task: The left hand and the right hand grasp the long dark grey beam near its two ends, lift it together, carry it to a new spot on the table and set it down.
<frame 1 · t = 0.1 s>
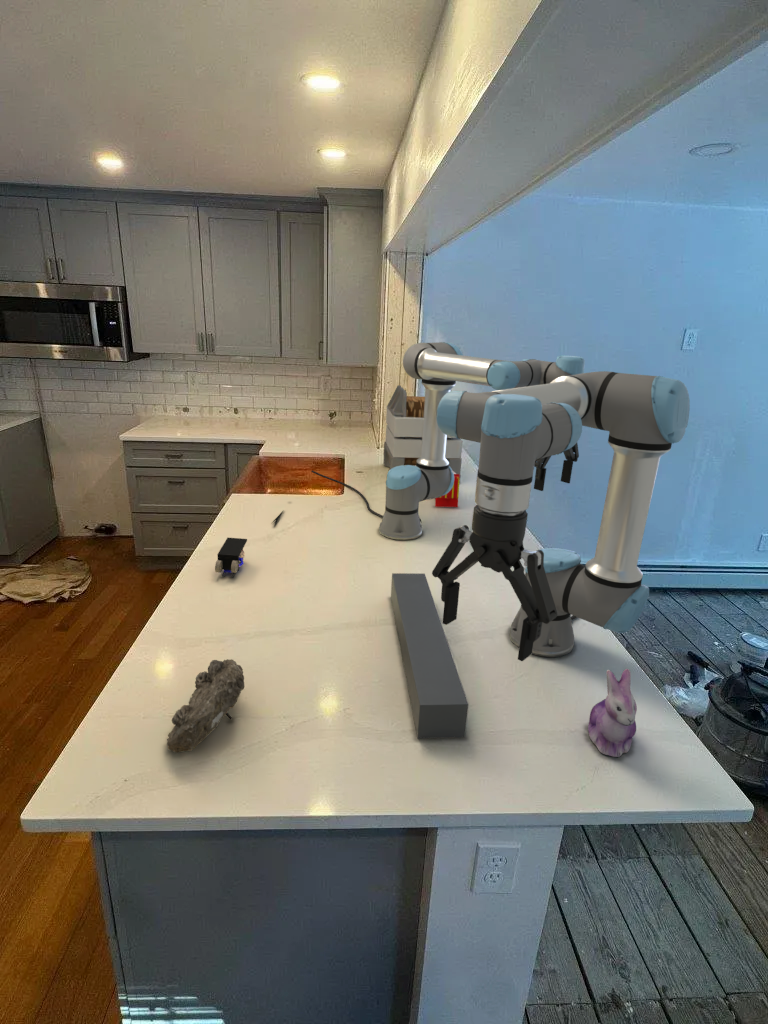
left hand: (552, 485, 166), 28 cm above the counter, tool pointing down, fingers open, 13 cm apart
right hand: (485, 638, 87), 28 cm above the counter, tool pointing down, fingers open, 13 cm apart
figurine: (611, 741, 107), on the counter
feather: (281, 514, 213), on the counter
toy: (441, 496, 242), on the counter
long dark grey beam: (420, 654, 131), on the counter
black wheeled cart: (232, 569, 168), on the counter
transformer: (419, 473, 275), on the counter
fossil: (212, 717, 108), on the counter
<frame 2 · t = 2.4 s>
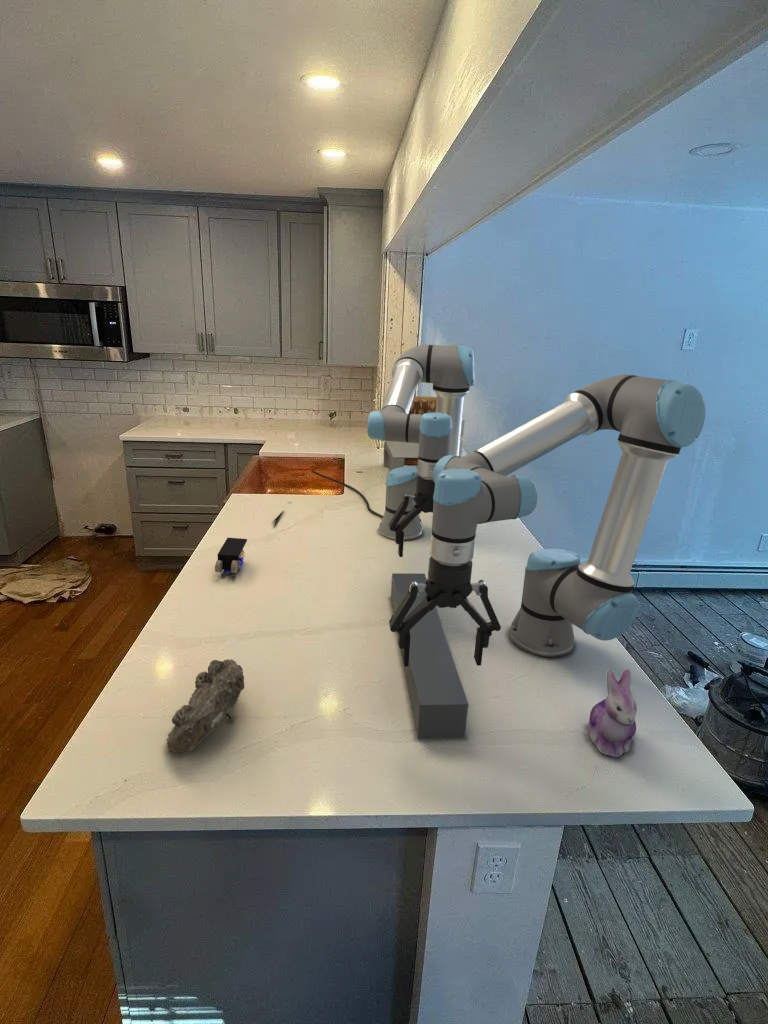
left hand: (426, 554, 148), 15 cm above the counter, tool pointing down, fingers open, 13 cm apart
right hand: (441, 661, 106), 13 cm above the counter, tool pointing down, fingers open, 13 cm apart
nothing on the counter moved.
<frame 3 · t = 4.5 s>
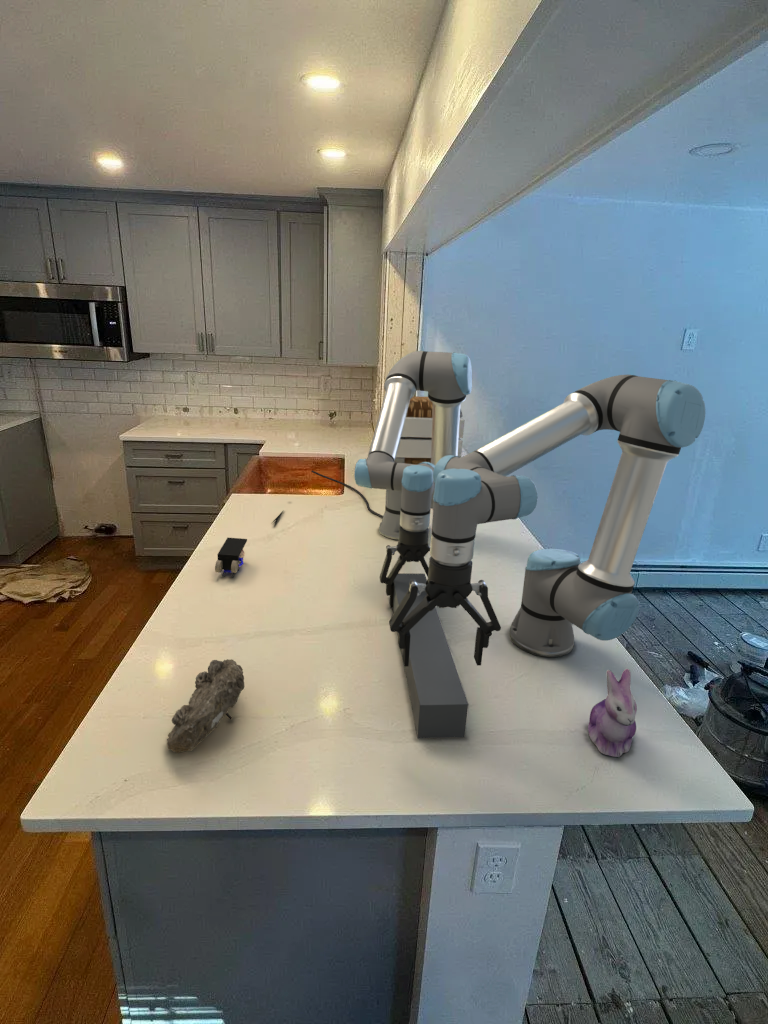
left hand: (409, 605, 151), 0 cm above the counter, tool pointing down, fingers closed on long dark grey beam, 9 cm apart
right hand: (441, 661, 106), 13 cm above the counter, tool pointing down, fingers open, 13 cm apart
long dark grey beam: (420, 654, 131), on the counter, touching left hand
everything else where it was.
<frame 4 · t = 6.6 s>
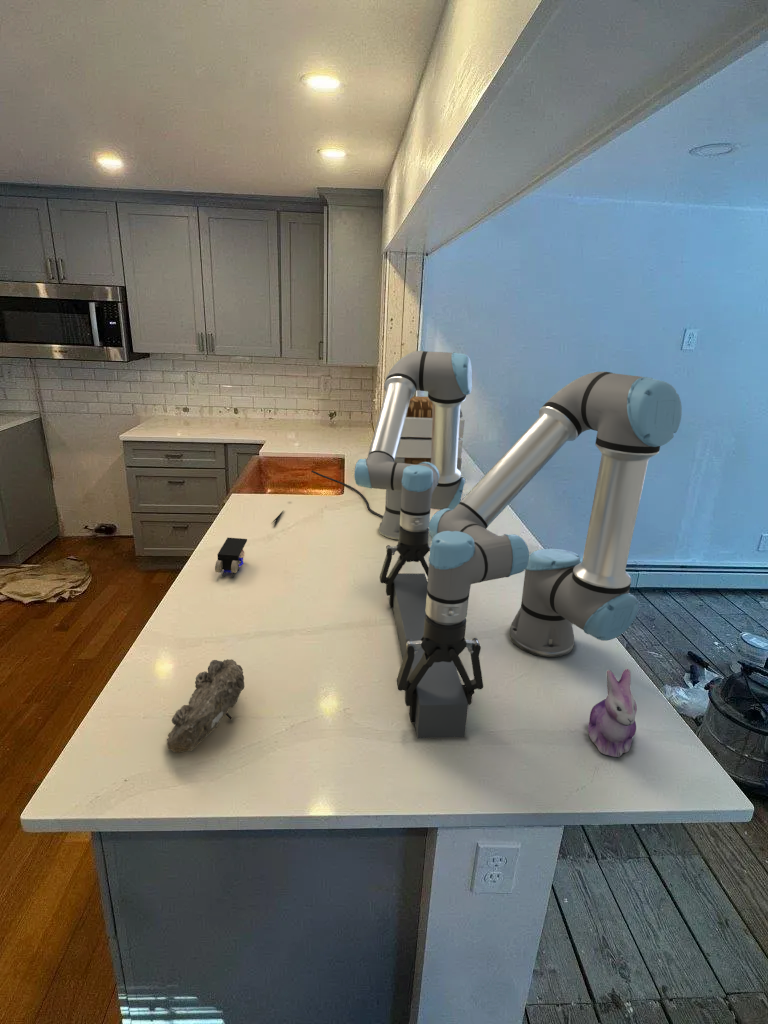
left hand: (409, 605, 151), 0 cm above the counter, tool pointing down, fingers closed on long dark grey beam, 9 cm apart
right hand: (436, 717, 110), 0 cm above the counter, tool pointing down, fingers closed on long dark grey beam, 9 cm apart
long dark grey beam: (420, 654, 131), on the counter, touching left hand, right hand
everything else where it was.
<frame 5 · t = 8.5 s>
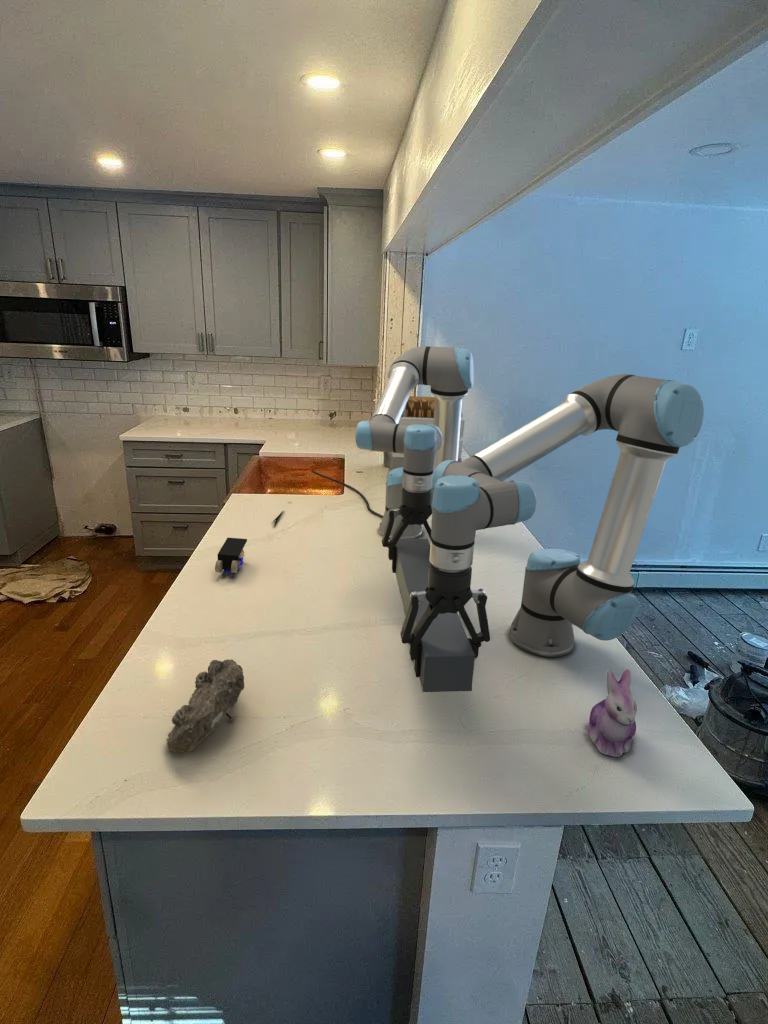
left hand: (412, 570, 148), 11 cm above the counter, tool pointing down, fingers closed on long dark grey beam, 9 cm apart
right hand: (442, 672, 107), 11 cm above the counter, tool pointing down, fingers closed on long dark grey beam, 9 cm apart
long dark grey beam: (424, 615, 127), point 10 cm above the counter, touching left hand, right hand
everything else where it was.
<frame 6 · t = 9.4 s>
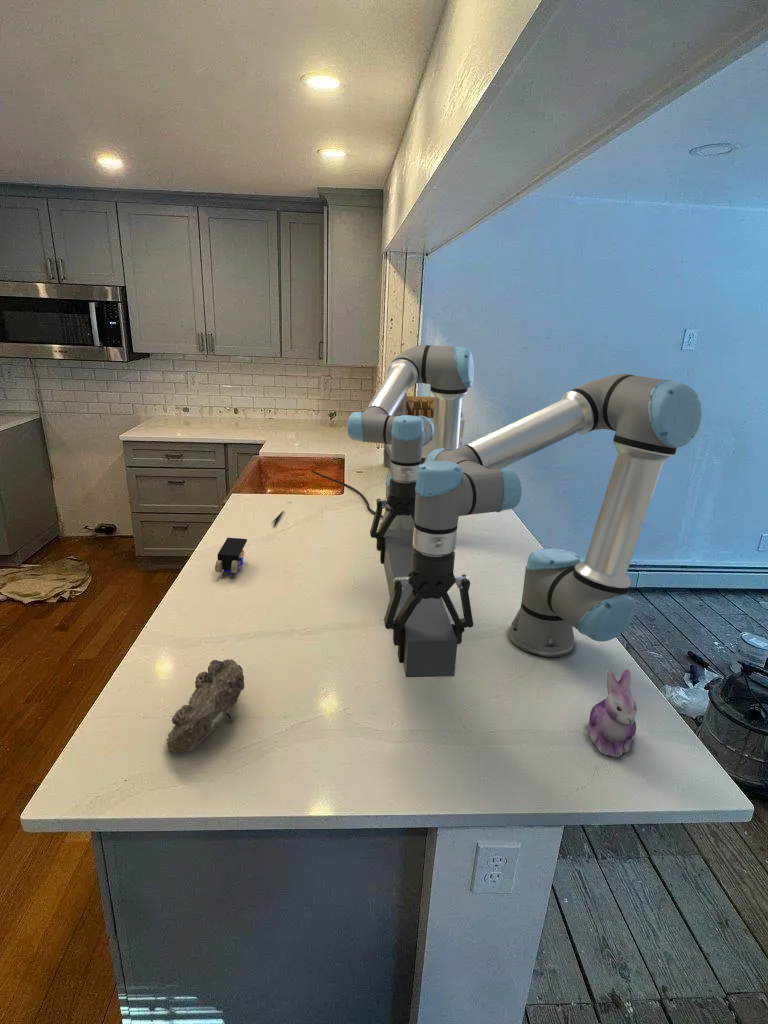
left hand: (400, 561, 148), 13 cm above the counter, tool pointing down, fingers closed on long dark grey beam, 9 cm apart
right hand: (425, 658, 107), 13 cm above the counter, tool pointing down, fingers closed on long dark grey beam, 9 cm apart
long dark grey beam: (411, 604, 128), point 12 cm above the counter, touching left hand, right hand
everything else where it was.
when the left hand's fingers open (2 cm above the counter, at t = 12.4 s): long dark grey beam drops 1 cm, on the counter.
when the right hand's fingers open (2 cm above the counter, at t = 12.4 s): long dark grey beam drops 1 cm, on the counter.
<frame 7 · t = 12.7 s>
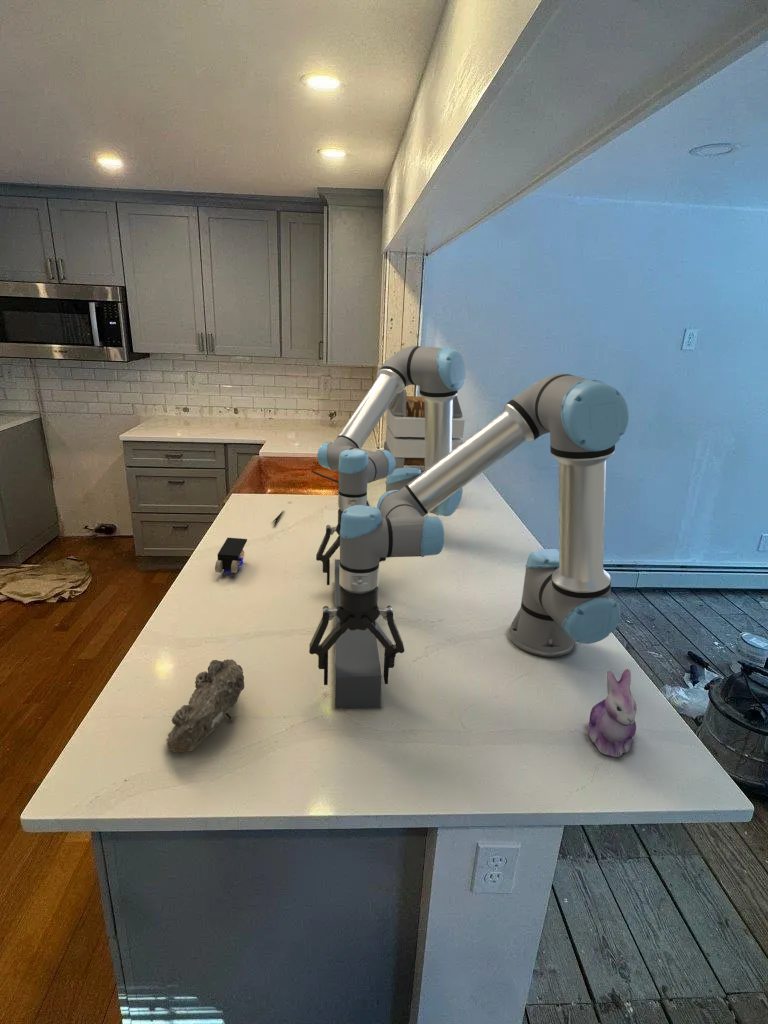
left hand: (350, 582, 157), 3 cm above the counter, tool pointing down, fingers open, 11 cm apart
right hand: (355, 680, 116), 3 cm above the counter, tool pointing down, fingers open, 11 cm apart
long dark grey beam: (353, 634, 137), on the counter
everything else where it was.
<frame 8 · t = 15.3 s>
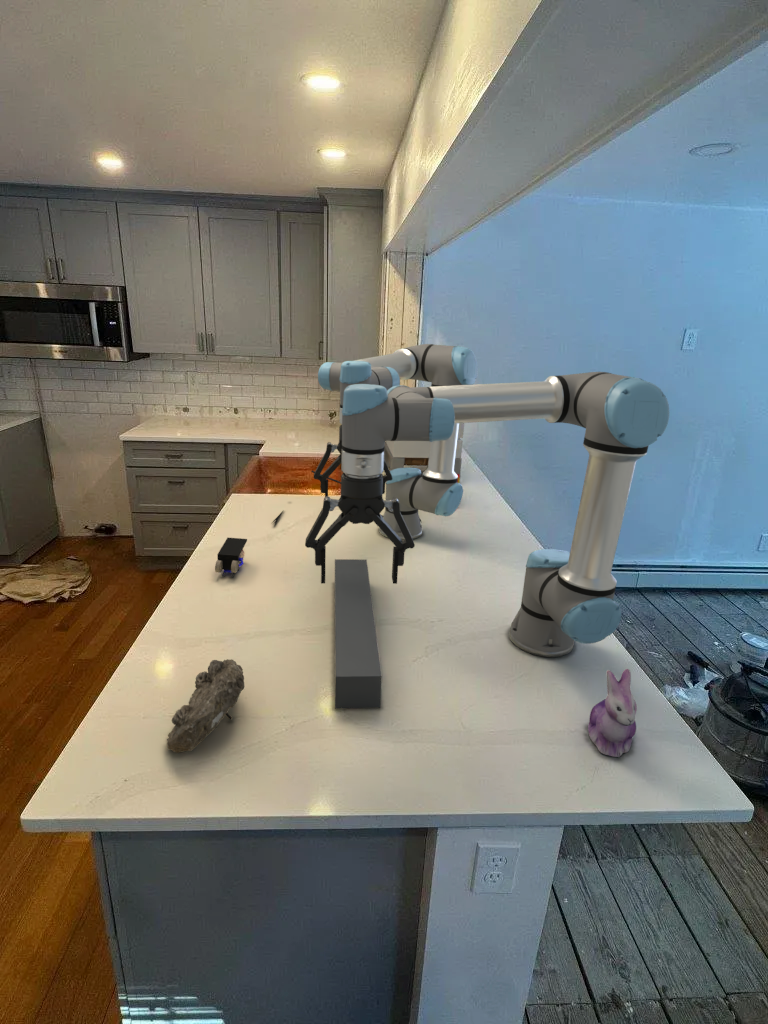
left hand: (352, 505, 149), 26 cm above the counter, tool pointing down, fingers open, 13 cm apart
right hand: (359, 580, 108), 26 cm above the counter, tool pointing down, fingers open, 13 cm apart
nothing on the counter moved.
at the end: long dark grey beam inside the target area (0.2 cm from its centre), on the counter; long dark grey beam tilted 0°; long dark grey beam never tilted more than 1° during the clip; both hands held the long dark grey beam at the same time; the left hand is holding nothing; the right hand is holding nothing; long dark grey beam at rest at the end (0.0 cm/s) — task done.
